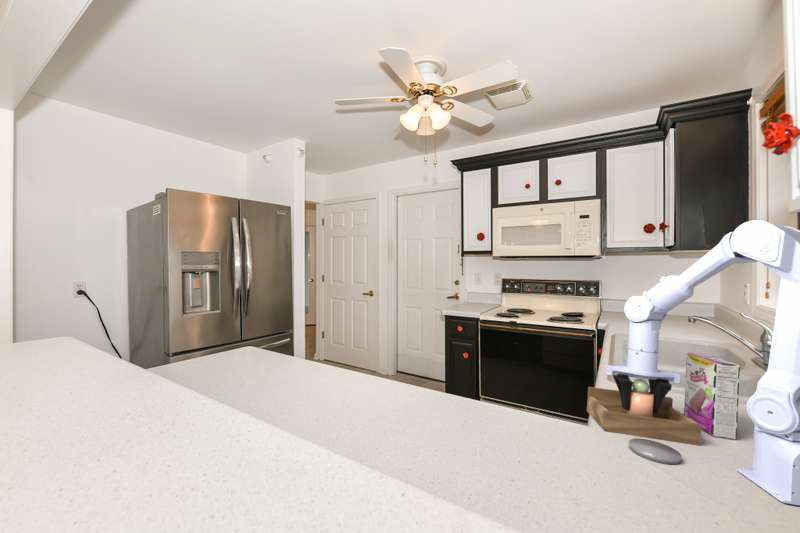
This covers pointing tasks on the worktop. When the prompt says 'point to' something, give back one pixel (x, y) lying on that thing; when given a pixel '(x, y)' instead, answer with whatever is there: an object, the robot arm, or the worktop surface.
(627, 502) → the worktop surface
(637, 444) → the saucer
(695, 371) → the candy bar box
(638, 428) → the tray
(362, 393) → the worktop surface
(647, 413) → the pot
